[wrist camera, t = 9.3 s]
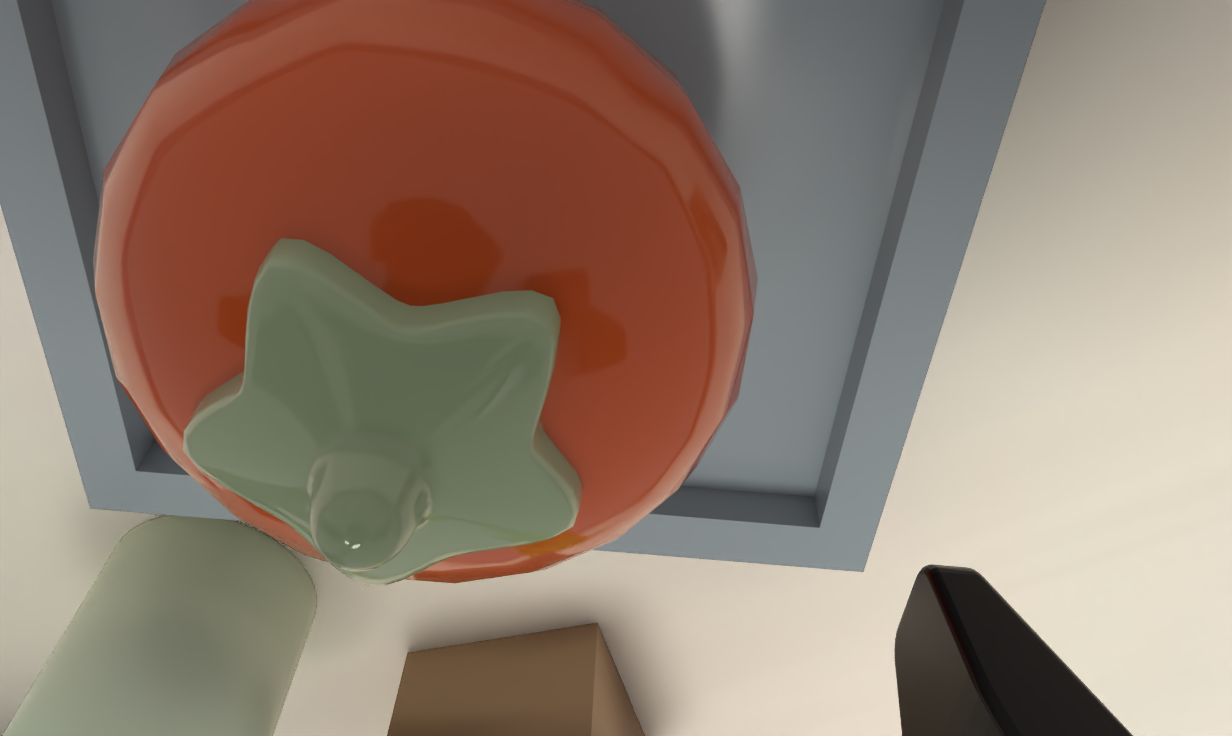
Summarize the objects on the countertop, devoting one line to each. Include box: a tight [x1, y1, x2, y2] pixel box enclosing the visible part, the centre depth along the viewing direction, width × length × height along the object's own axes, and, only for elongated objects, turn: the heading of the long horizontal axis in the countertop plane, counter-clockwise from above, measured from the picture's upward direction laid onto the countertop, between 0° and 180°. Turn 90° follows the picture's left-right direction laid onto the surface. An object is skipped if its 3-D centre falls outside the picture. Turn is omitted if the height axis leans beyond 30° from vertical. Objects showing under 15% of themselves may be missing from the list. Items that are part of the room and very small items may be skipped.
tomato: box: [93, 0, 758, 585], centre depth 12 cm, size 7×7×8 cm
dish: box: [0, 0, 1046, 572], centre depth 15 cm, size 14×14×2 cm
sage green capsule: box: [2, 515, 317, 736], centre depth 20 cm, size 4×4×6 cm
